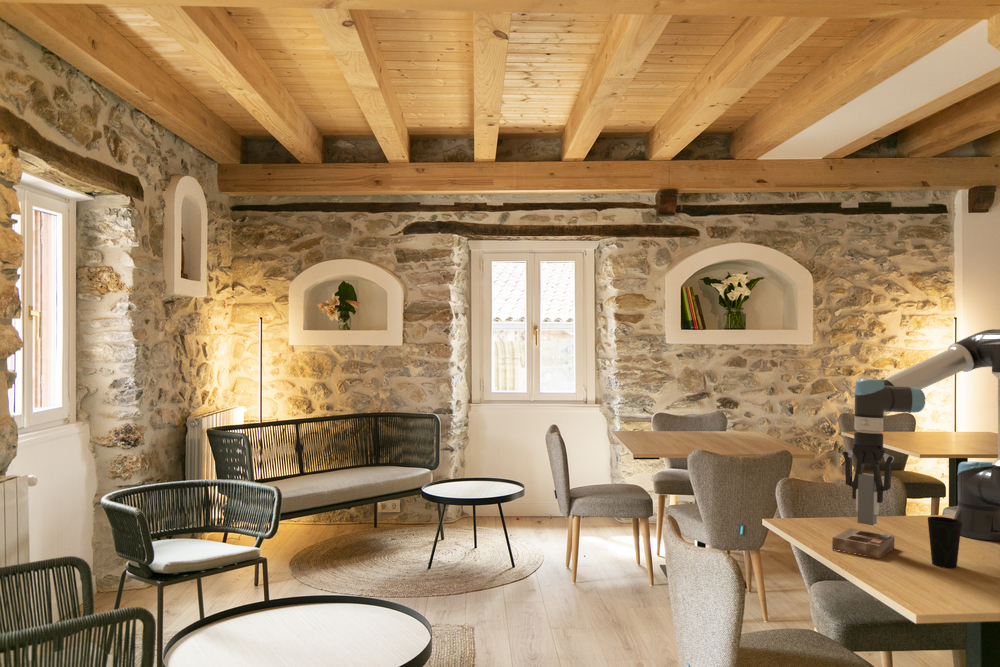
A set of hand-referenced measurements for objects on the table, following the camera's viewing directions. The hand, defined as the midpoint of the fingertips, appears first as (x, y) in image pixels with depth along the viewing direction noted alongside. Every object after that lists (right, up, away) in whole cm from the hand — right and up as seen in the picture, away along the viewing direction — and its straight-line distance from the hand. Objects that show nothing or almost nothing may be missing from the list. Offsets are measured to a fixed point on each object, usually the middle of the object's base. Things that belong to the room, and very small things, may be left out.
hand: (867, 512), depth 204 cm
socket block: (-3, -10, -3) cm, 11 cm away
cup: (+11, -10, -18) cm, 23 cm away
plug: (0, -3, 0) cm, 3 cm away
